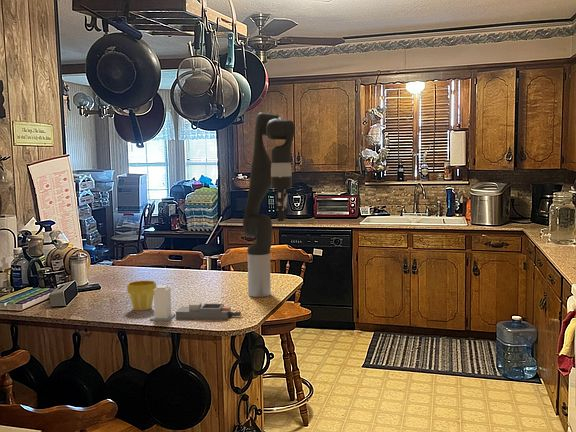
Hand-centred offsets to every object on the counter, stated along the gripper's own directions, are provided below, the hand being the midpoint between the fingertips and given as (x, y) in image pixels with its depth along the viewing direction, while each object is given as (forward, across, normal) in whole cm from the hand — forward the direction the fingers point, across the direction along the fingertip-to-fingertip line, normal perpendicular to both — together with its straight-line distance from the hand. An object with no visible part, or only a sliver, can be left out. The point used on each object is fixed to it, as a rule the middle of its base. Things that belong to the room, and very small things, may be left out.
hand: (281, 219), depth 207 cm
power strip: (+33, +12, -25) cm, 43 cm away
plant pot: (+33, +2, -53) cm, 63 cm away
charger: (+32, +15, -41) cm, 54 cm away
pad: (+33, +15, -41) cm, 55 cm away
